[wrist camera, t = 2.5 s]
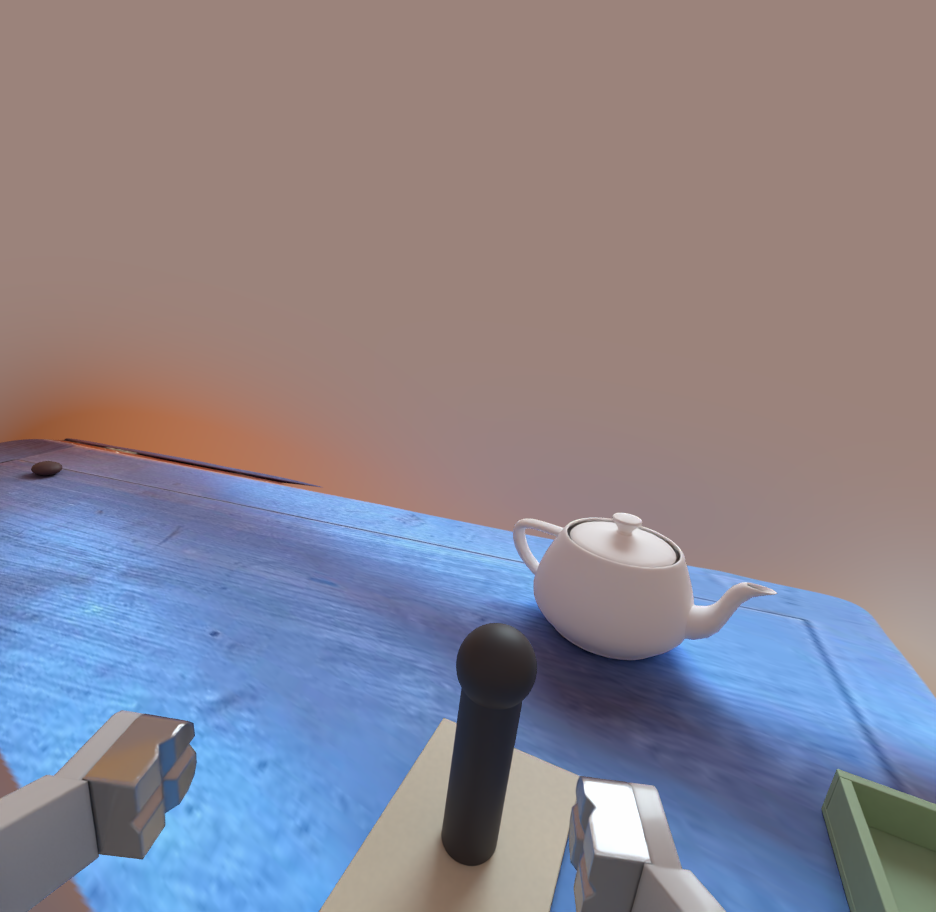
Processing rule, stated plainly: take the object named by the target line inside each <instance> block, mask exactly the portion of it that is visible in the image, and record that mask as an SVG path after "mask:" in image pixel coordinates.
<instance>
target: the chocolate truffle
mask: <svg viewBox="0 0 936 912" xmlns="http://www.w3.org/2000/svg"><path fill="white" fill-rule="evenodd" d="M31 470H32V472H33V473H35V474H38V475H53V474H56V473H58V472H60V471H61V470H62V465H61V464H59V463H57V462H52V461H44V462H40V463H37V464H35V465H33V466H32V468H31Z"/></svg>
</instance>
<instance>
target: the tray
mask: <svg viewBox="0 0 936 912" xmlns="http://www.w3.org/2000/svg"><path fill="white" fill-rule="evenodd" d="M822 812H823V816H824V819H825V823H826V826H827V830H828V833H829V837H830V840H831V844H832V847H833V851H834V854H835V858H836V861H837V865H838V869H839V872H840V876H841V879H842V883H843V886H844V890H845V893H846V897H847V900H848V904H849V907H850V911H851V912H936V804H933V803H930V802H928V801H925V800H922V799H919V798H916V797H914V796H911V795H908V794H905V793H903V792H900V791H897V790H894V789H892V788H889V787H886V786H883V785H881V784H878V783H875V782H872V781H869V780H867V779H864V778H861V777H858V776H856V775H853V774H850V773H847V772H845V771H842V770H839V769H837V770H836V773H835V775H834V778H833V780H832V783H831V785H830V788H829V790H828V793H827V795H826V798H825V800H824V803H823V806H822Z"/></svg>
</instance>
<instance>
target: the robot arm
mask: <svg viewBox="0 0 936 912" xmlns="http://www.w3.org/2000/svg"><path fill="white" fill-rule="evenodd" d="M194 736H195V732H194V724H193V723H192V722H189V721H185V720H179V719H173V718H167V717H161V716H155V715H150V714H142V713H136V712H130V711H124V710H122V711H120V712H118V713H116V714H114V715H113V716H112V717H111V718H110V719H109V720H108V721H107V722H106V723H105V724H104V725H103V726H102V727H101V728H100V729H99V730H98V731H97V732H96V733H95V734H94V735H93V736H92V737H91V738H90V739H89V740H88V741H87V742H86V743H85V744H84V745H83V746H82V747H81V748H80V749H79V751H78V752H77V753H76V754H75V755H74V756H73V757H72V758H71V759H70V760H69V761H68V762H67V763H66V764H65V765H64V766H63V767H62V768H61V769H60V770H59V771H58V772H57V773H56V774H55V775H54V776H51V775H46V776H44V777H42V778H40V779H38V780H36V781H34V782H32V783H30V784H28V785H26V786H24V787H22V788H20V789H18V790H16V791H14V792H12V793H10V794H8V795H6V796H4V797H2V798H0V912H27V911H29V910H30V909H31V908H32V907H34V906H35V905H36V904H38V903H39V902H40V901H42V900H43V899H44V898H46V897H47V896H48V895H50V894H51V893H52V892H54V891H55V890H56V889H57V888H59V887H60V886H61V885H63V884H64V883H65V882H67V881H68V880H69V879H71V878H72V877H73V876H75V875H76V874H77V873H78V872H80V871H81V870H82V869H84V868H85V867H86V866H88V865H89V864H90V863H92V862H93V861H94V860H96V859H97V858H98V857H99V854H102V855H110V856H119V857H127V858H136V859H143V858H144V857H145V855H146V854H147V852H148V851H149V849H150V848H151V846H152V845H153V843H154V842H155V840H156V839H157V837H158V836H159V834H160V833H161V831H162V830H163V828H164V827H165V813H166V812H168V811H169V810H171V809H172V808H174V807H176V806H177V805H179V804H180V802H181V801H182V799H183V797H184V796H185V794H186V793H187V791H188V789H189V787H190V784H191V782H192V779H193V777H194V774H195V769H196V763H197V761H196V752H195V751H194V749H193V748H192V747H191V746H190V744H189V743H190V742H191V740H192V739H193V738H194ZM576 798H577V803H576V804H575V805H574V806H573V807H572V810H571V816H570V824H569V850H570V860H571V863H572V865H573V866H574V868H575V869H576V870H577V873H576V878H575V883H574V895H575V903H576V912H726V911H725V910H724V909H723V907H722V906H721V905H720V904H719V903H718V902H717V901H716V899H715V898H714V897H713V896H712V895H711V894H710V893H709V891H708V890H707V889H706V888H705V887H704V886H703V885H702V883H701V882H700V881H699V880H698V879H697V878H696V877H695V875H694V874H693V873H692V872H691V871H690V870H685V869H682V867H681V864H680V860H679V857H678V854H677V851H676V848H675V844H674V841H673V838H672V835H671V832H670V829H669V825H668V822H667V819H666V816H665V813H664V809H663V806H662V803H661V800H660V797H659V794H658V791H657V789H656V788H655V787H654V786H651V785H644V784H636V783H627V782H623V781H615V780H607V779H600V778H592V777H584V776H580V777H579V779H578V781H577V785H576Z"/></svg>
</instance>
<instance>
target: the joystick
mask: <svg viewBox="0 0 936 912" xmlns="http://www.w3.org/2000/svg"><path fill="white" fill-rule="evenodd" d="M456 670H457V676H458V680H459V683H460V685H461V687H462V689H461V696H460V704H459V711H458V718H457V723H455V722H452V721H450V720H448V719H445V718H443V720H442V721H441V723H440V725H439V726H438V728H437V729H436V731H435V732H434V734H433V735H432V737H431V739H430V740H429V742H428V743H427V745H426V746H425V748H424V749H423V751H422V752H421V754H420V756H419V757H418V759H417V760H416V762H415V763H414V765H413V766H412V768H411V770H410V771H409V773H408V774H407V776H406V777H405V779H404V780H403V782H402V784H401V785H400V787H399V788H398V790H397V791H396V793H395V794H394V796H393V797H392V799H391V801H390V802H389V804H388V805H387V807H386V808H385V810H384V811H383V813H382V815H381V816H380V818H379V819H378V821H377V822H376V824H375V825H374V827H373V829H372V830H371V832H370V833H369V835H368V836H367V838H366V839H365V841H364V842H363V844H362V846H361V847H360V849H359V850H358V852H357V853H356V855H355V856H354V858H353V860H352V861H351V863H350V864H349V866H348V867H347V869H346V870H345V872H344V873H343V875H342V877H341V878H340V880H339V881H338V883H337V884H336V886H335V887H334V889H333V891H332V892H331V894H330V895H329V897H328V898H327V900H326V901H325V903H324V905H323V906H322V908H321V909H320V911H319V912H550V908H551V904H552V900H553V896H554V892H555V888H556V883H557V879H558V875H559V871H560V867H561V863H562V859H563V855H564V850H565V846H566V842H567V838H568V834H569V824H570V816H571V810H572V807H573V806H574V805H575V804H576V801H577V798H576V785H577V781H578V779H579V777H580V776H578V775H576V774H574V773H571V772H569V771H567V770H564V769H562V768H560V767H557V766H555V765H553V764H550V763H548V762H546V761H543V760H541V759H539V758H536V757H534V756H532V755H529V754H527V753H525V752H522V751H520V750H518V749H515V748H514V745H515V740H516V734H517V728H518V723H519V717H520V712H521V706H522V701H523V700H524V699H525V698H526V696H527V695H528V694H529V692H530V691H531V689H532V687H533V685H534V682H535V679H536V673H537V661H536V656H535V652H534V650H533V648H532V646H531V644H530V642H529V641H528V639H527V638H526V637H525V636H524V635H523V634H522V633H521V632H520V631H518V630H517V629H515V628H514V627H512V626H509V625H506V624H501V623H490V624H486V625H482V626H480V627H478V628H476V629H475V630H473V631H472V632H471V633H470V634H469V635H468V636H467V637H466V638H465V639H464V641H463V643H462V644H461V646H460V649H459V652H458V655H457V661H456Z"/></svg>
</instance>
